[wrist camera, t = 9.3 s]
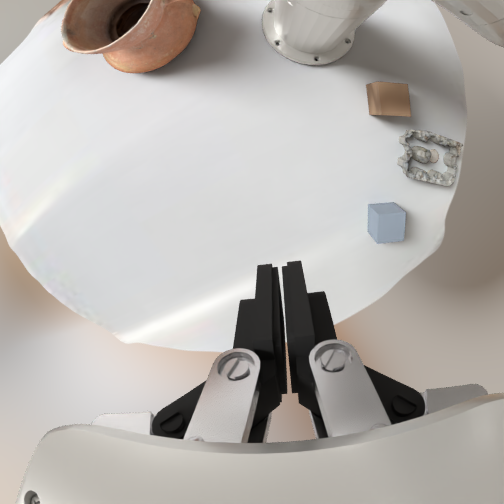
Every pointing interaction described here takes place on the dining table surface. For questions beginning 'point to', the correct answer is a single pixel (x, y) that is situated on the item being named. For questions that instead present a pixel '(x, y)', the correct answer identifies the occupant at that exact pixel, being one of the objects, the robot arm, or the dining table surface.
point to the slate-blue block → (386, 222)
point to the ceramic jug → (130, 31)
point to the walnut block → (388, 99)
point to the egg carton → (429, 157)
